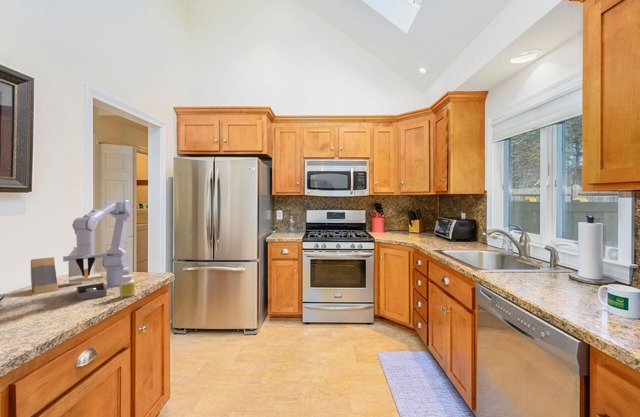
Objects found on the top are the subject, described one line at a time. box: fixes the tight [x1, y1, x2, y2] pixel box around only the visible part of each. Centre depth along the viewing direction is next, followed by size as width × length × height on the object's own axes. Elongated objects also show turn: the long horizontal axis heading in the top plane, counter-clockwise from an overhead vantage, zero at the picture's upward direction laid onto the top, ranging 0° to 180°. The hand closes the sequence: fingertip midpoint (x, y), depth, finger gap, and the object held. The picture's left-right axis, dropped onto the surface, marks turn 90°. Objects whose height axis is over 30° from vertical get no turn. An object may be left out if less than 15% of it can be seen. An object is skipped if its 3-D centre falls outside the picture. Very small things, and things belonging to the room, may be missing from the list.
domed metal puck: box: [86, 287, 97, 291], centre depth 132 cm, size 4×4×2 cm
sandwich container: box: [30, 256, 59, 296], centre depth 137 cm, size 9×15×15 cm, turn 49°
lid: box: [68, 269, 104, 285], centre depth 127 cm, size 11×17×5 cm, turn 42°
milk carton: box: [67, 246, 94, 286], centre depth 150 cm, size 7×7×19 cm
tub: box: [76, 282, 108, 302], centre depth 129 cm, size 10×14×4 cm
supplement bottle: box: [119, 274, 136, 300], centre depth 126 cm, size 5×5×10 cm
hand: (85, 275), depth 125 cm, fingers closed on lid
